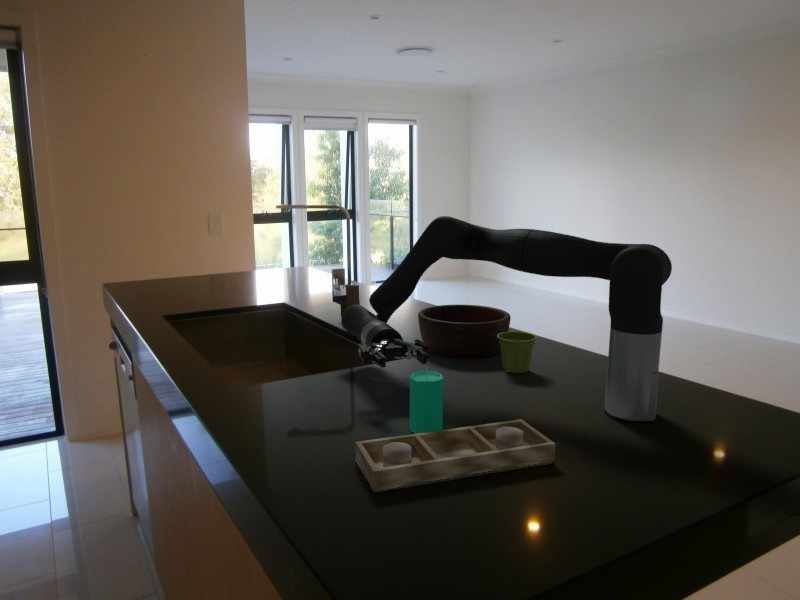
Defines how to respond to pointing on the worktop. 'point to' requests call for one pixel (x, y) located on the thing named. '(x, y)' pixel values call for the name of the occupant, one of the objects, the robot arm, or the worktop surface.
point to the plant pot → (516, 350)
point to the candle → (426, 401)
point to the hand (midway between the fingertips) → (404, 361)
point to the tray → (451, 453)
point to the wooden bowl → (463, 330)
